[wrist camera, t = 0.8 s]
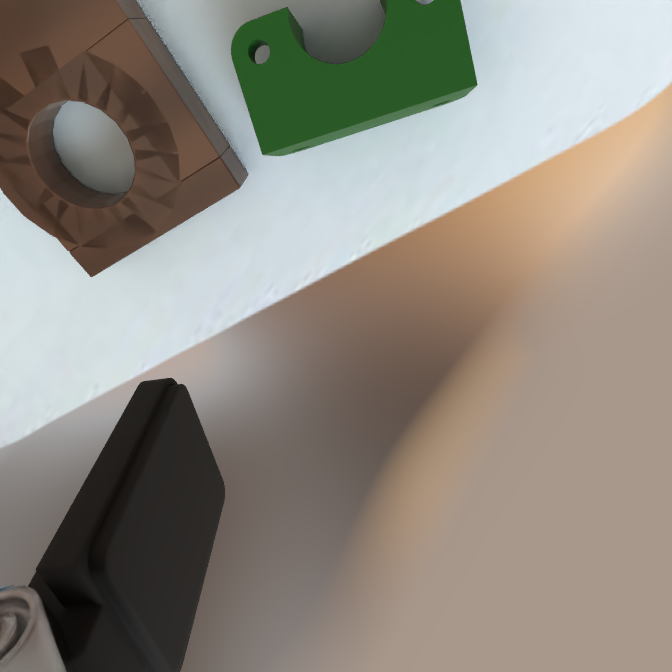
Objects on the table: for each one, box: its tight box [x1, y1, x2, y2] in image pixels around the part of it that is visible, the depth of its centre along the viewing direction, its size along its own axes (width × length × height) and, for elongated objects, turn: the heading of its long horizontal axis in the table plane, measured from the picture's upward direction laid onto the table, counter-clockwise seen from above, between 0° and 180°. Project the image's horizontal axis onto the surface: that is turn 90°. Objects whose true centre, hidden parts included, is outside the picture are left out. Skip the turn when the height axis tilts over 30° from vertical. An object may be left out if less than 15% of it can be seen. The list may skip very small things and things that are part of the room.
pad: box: [0, 0, 248, 277], centre depth 31 cm, size 16×13×3 cm
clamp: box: [231, 0, 477, 156], centre depth 28 cm, size 12×6×9 cm
